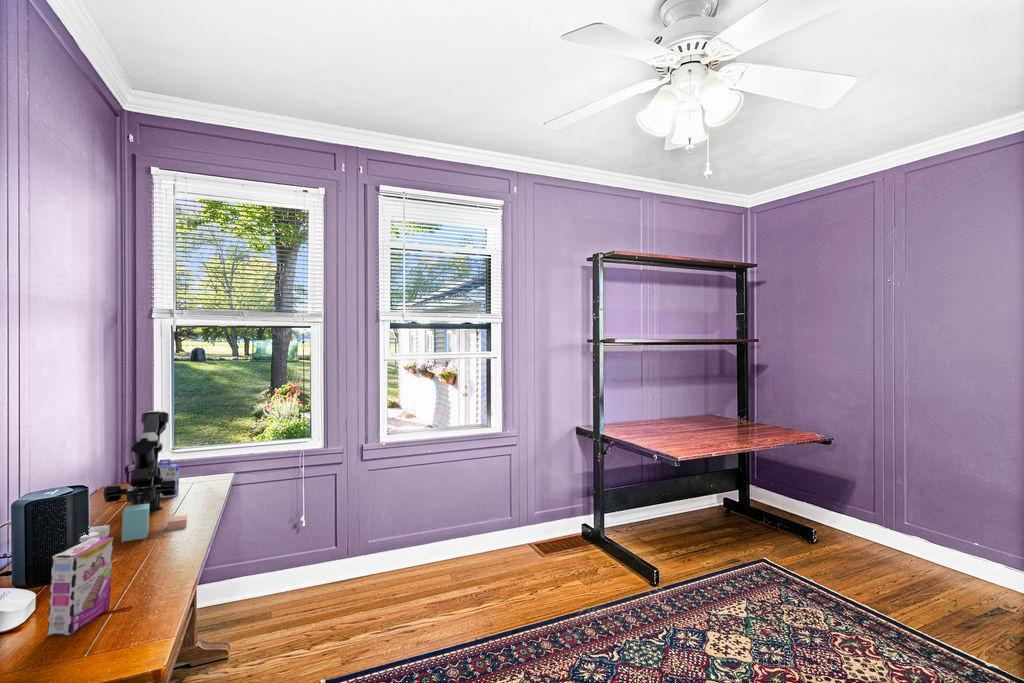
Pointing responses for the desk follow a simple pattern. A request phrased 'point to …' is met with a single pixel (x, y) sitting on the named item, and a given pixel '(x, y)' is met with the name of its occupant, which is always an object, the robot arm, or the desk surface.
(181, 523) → the terracotta block
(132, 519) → the teal upright rectangular block
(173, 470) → the ink cartridge box
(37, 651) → the desk surface
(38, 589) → the desk surface
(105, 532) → the pale grey block
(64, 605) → the candy bar box
